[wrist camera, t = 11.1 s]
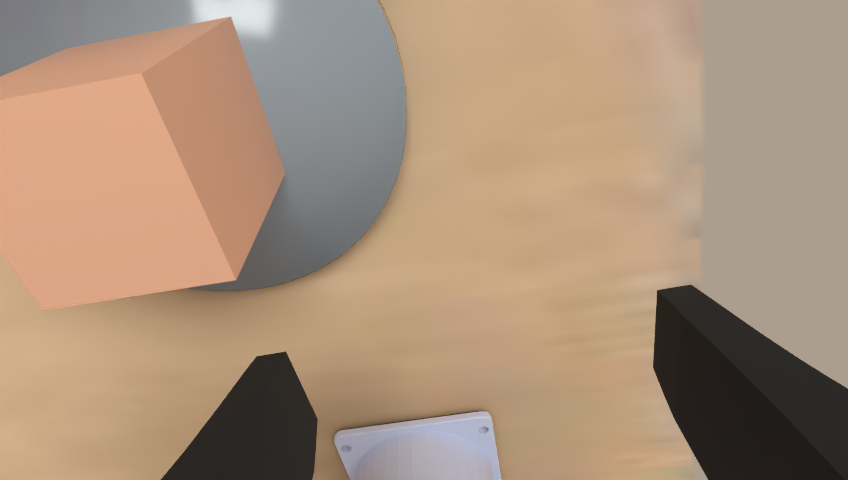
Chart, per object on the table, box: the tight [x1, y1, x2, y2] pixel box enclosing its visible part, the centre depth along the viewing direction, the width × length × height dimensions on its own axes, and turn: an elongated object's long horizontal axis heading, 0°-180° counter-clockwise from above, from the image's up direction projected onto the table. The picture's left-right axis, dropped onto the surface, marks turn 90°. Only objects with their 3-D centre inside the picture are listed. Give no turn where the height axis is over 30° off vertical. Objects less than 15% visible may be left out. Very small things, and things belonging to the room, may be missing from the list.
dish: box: [0, 0, 406, 291], centre depth 17 cm, size 14×14×1 cm
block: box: [0, 16, 285, 311], centre depth 14 cm, size 5×5×6 cm
